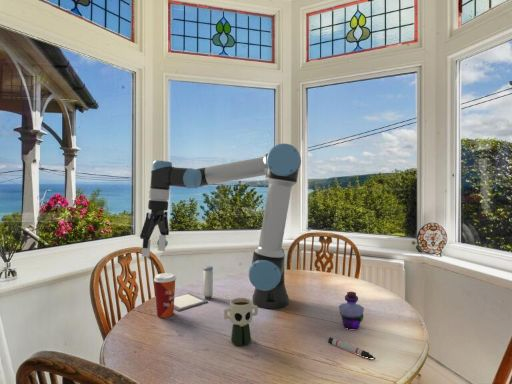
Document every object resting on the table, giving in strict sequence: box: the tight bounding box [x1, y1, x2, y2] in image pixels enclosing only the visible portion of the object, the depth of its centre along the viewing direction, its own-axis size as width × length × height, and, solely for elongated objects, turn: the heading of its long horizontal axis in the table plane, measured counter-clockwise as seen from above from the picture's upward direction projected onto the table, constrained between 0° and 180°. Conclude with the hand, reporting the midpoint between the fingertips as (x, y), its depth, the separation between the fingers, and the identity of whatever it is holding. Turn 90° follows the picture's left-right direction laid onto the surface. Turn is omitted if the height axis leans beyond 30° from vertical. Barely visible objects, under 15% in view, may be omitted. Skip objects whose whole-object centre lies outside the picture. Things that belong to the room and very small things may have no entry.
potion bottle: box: [338, 291, 365, 330], centre depth 117 cm, size 9×9×12 cm
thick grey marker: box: [202, 265, 214, 301], centre depth 146 cm, size 4×4×14 cm
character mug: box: [223, 297, 259, 346], centre depth 106 cm, size 11×7×13 cm, turn 106°
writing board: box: [174, 292, 209, 312], centre depth 141 cm, size 14×14×1 cm
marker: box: [327, 337, 376, 360], centre depth 100 cm, size 15×2×2 cm, turn 43°
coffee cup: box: [153, 272, 177, 319], centre depth 128 cm, size 8×8×15 cm
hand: (153, 253), depth 133 cm, fingers open, 13 cm apart
